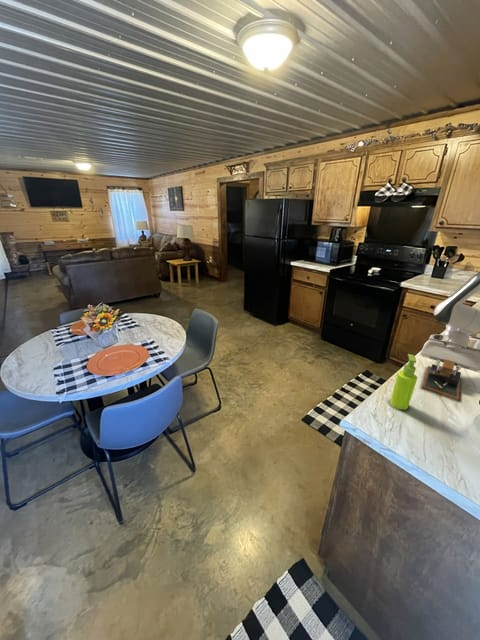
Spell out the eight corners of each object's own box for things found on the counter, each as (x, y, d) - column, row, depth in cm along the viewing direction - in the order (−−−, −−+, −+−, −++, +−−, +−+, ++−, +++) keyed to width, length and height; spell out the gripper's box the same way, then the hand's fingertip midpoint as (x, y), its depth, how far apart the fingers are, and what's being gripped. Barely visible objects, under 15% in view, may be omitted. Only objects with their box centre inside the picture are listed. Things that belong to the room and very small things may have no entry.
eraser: (459, 375, 110) (465, 363, 105) (457, 385, 108) (463, 373, 102) (431, 367, 116) (435, 355, 111) (428, 375, 114) (432, 364, 108)
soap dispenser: (406, 400, 101) (420, 355, 93) (408, 411, 95) (424, 364, 87) (389, 395, 103) (401, 351, 95) (390, 406, 97) (403, 360, 89)
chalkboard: (427, 367, 122) (427, 365, 122) (459, 377, 115) (460, 375, 115) (421, 388, 108) (422, 386, 107) (458, 400, 101) (459, 398, 100)
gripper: (484, 353, 108) (476, 384, 105) (425, 339, 120) (416, 366, 117) (488, 348, 103) (480, 380, 100) (426, 333, 115) (417, 362, 112)
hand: (445, 372), depth 108 cm, fingers closed on eraser, 3 cm apart
